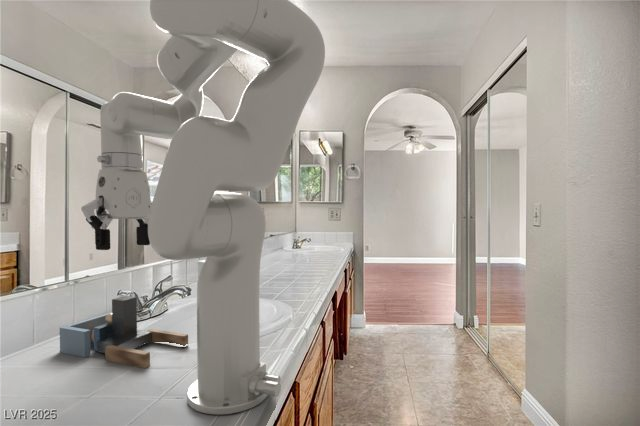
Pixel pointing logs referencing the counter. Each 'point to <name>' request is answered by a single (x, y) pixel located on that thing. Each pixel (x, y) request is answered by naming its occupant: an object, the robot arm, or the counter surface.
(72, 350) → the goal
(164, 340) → the rail
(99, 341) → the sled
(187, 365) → the counter surface
